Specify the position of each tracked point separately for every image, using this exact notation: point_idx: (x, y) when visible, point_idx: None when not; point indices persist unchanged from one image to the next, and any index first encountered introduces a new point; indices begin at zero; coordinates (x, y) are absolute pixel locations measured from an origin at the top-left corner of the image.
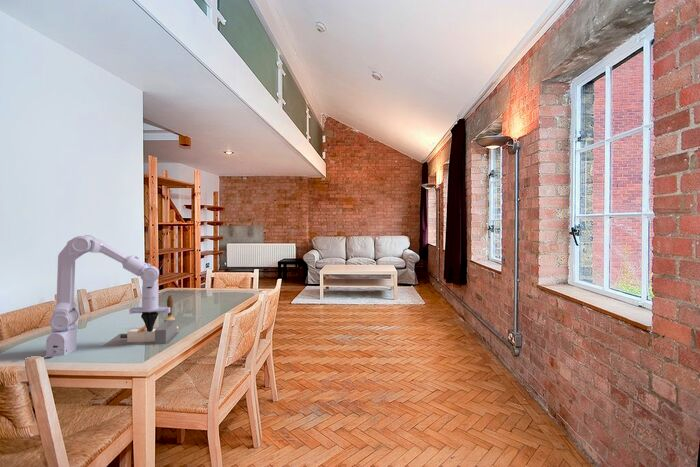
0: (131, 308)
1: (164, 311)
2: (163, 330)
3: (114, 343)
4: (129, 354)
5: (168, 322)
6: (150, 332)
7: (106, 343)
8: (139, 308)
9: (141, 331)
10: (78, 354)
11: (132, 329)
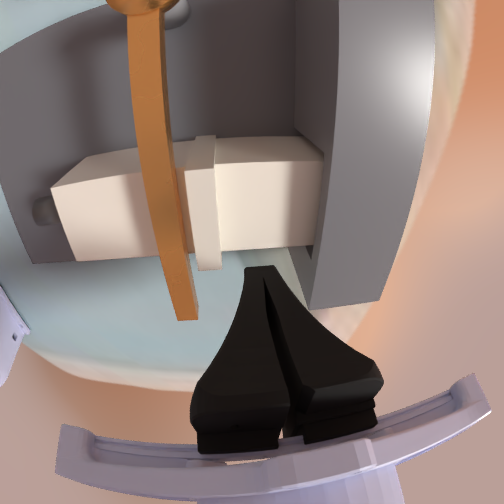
0: (83, 483)
1: (431, 412)
2: (363, 299)
3: (53, 235)
4: (209, 327)
5: (383, 62)
6: (250, 243)
7: (23, 235)
8: (165, 497)
9: (194, 290)
10: (33, 314)
11: (63, 196)
